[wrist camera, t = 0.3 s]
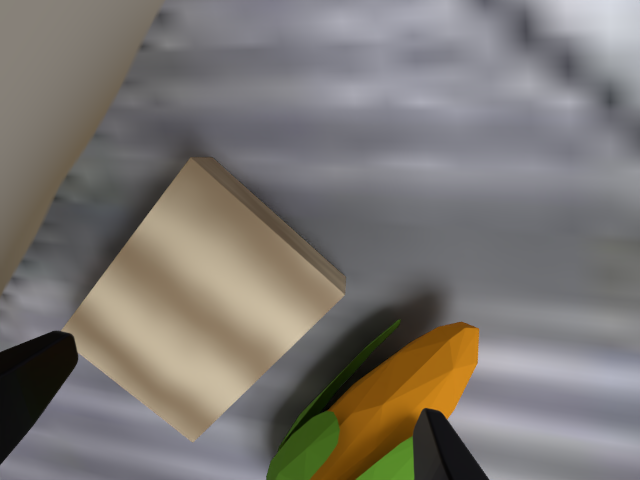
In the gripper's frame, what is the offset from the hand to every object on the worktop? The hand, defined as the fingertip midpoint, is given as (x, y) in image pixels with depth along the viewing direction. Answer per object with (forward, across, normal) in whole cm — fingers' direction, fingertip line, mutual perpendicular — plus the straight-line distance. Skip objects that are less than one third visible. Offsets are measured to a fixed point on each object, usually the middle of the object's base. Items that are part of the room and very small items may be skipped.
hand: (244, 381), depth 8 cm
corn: (+12, -6, +14) cm, 19 cm away
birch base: (+13, +6, +8) cm, 17 cm away
